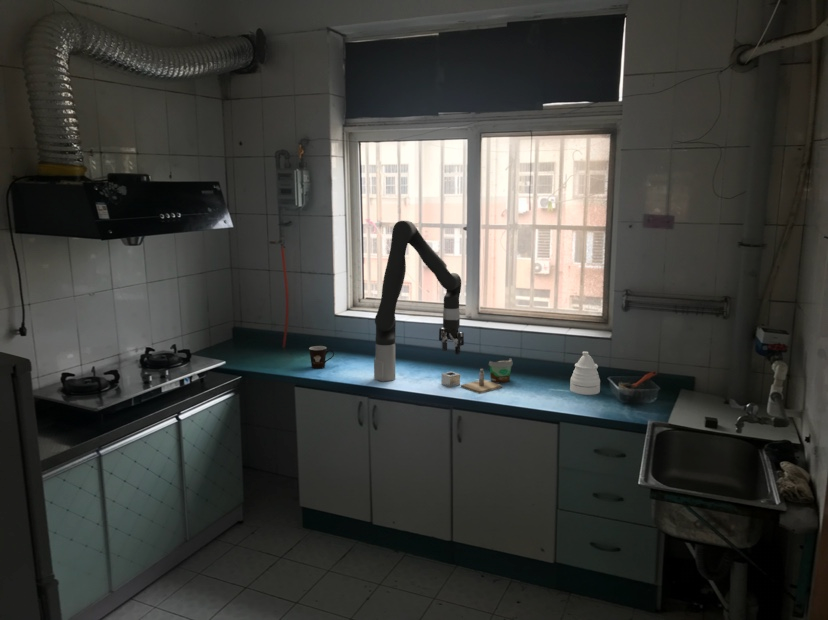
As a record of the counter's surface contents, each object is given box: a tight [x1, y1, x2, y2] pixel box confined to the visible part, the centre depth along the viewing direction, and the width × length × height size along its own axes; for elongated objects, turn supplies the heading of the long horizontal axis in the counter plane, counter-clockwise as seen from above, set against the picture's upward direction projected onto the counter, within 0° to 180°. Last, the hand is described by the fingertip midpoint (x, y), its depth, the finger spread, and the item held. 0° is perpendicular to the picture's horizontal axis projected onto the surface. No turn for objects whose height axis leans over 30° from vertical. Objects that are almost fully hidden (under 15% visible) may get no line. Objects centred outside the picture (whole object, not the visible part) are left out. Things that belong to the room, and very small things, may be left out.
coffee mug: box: [308, 345, 335, 370], centre depth 324 cm, size 12×9×10 cm
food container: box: [488, 357, 514, 384], centre depth 301 cm, size 12×6×10 cm, turn 117°
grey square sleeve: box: [440, 370, 461, 388], centre depth 297 cm, size 6×6×5 cm
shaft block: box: [460, 368, 503, 394], centre depth 292 cm, size 14×12×8 cm
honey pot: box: [569, 351, 601, 396], centre depth 287 cm, size 13×13×18 cm
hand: (451, 352), depth 295 cm, fingers open, 8 cm apart
